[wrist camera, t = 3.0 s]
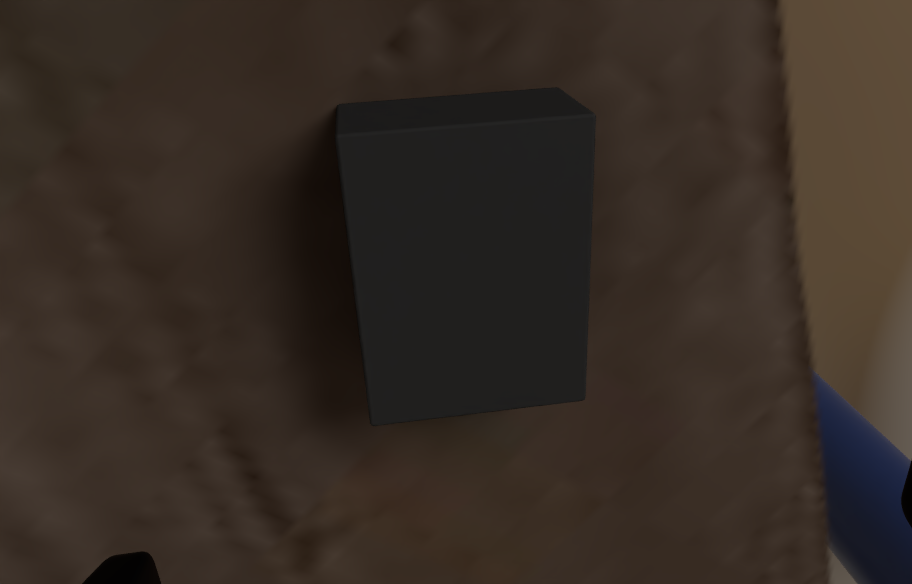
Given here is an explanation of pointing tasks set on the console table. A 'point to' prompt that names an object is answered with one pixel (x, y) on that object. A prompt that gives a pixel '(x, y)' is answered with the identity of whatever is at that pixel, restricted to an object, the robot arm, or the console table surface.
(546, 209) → the black rectangular block
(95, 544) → the console table surface
